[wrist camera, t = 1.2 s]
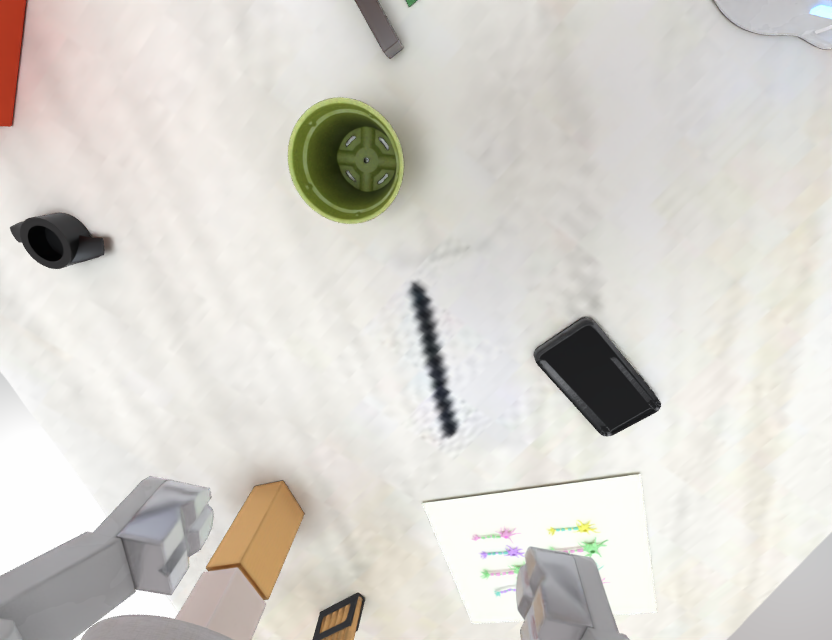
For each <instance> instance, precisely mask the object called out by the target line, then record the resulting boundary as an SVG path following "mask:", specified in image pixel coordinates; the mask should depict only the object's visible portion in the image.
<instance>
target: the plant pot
mask: <svg viewBox="0 0 832 640" xmlns="http://www.w3.org/2000/svg"><path fill="white" fill-rule="evenodd" d="M352 136H356V138H355V139H354V140H353V141H352V142H351V143H350V144H349V145H348V146H347V147H346V142H347V141H348V140H349V139H350V137H352ZM379 137H381V138H383V139H384V140H385V142H386V143H387V144H388V146H389V150H387V149H386V148H385V146H384V145H383V143H382V142H381V141H379ZM365 158H368V159H369V162H368V163H365V162H364V159H365ZM288 165H289V171H290V175H291V178H292V181H293V183H294V186H295V188H296V190H297V191H298V193H299V194H300V196H301V197H302V199H303V200H304V201H305V202H306V204H307V205H309V206H310V207H311V208H312V209H313V210H314V211H315V212H317V213H318V214H320V215H321V216H323V217H325V218H327V219H330V220H332V221H335V222H338V223H344V224H357V223H362V222H366V221H369V220H371V219H374V218H375V217H377V216H379V215H380V214H381V213H383V212H384V211H385V210H386V209H387V208H388V207H389V206H390V205H391V203H392V202H393V201H394V199H395V198H396V196H397V194H398V192H399V189H400V187H401V183H402V179H403V173H404V158H403V152H402V148H401V144H400V142H399V139H398V137H397V135H396V133H395V131H394V129H393V128H392V126H391V125H390V124H389V122H388V121H387V120H386V119H385V118H384V117H383V116H382V115H381V114H380V113H379V112H378V111H376V110H375V109H374V108H372V107H371V106H369V105H367V104H365V103H363V102H361V101H358V100H355V99H350V98H343V97H337V98H329V99H326V100H323V101H320V102H318V103H316V104H314V105H313V106H311V107H310V108H309V109H308V110H306V112H305V113H304V114H303V115H302V116H301V117H300V118H299V120H298V121H297V123H296V124H295V126H294V128H293V131H292V134H291V137H290V141H289V145H288ZM347 170H348V171H349V172H350V174H351V175H352V176H353V177H354V179H355V180H356V181H353V180H351V179H350V178H349V177H348V175H347V173H346V171H347ZM386 173H387V174H388V177H387V178H386V179H385V180H384V182H382V183H381V184H378V181H379V180H380V179H382V178H383V177H384V176H385V174H386Z"/></svg>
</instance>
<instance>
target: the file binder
mask: <svg viewBox="0 0 832 640" xmlns="http://www.w3.org/2000/svg"><path fill="white" fill-rule="evenodd" d="M25 8H26V0H0V126H8V127H11V126H12V120H13V111H14V103H15V94H16V86H17V77H18V68H19V60H20V51H21V42H22V34H23V25H24V16H25Z"/></svg>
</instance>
